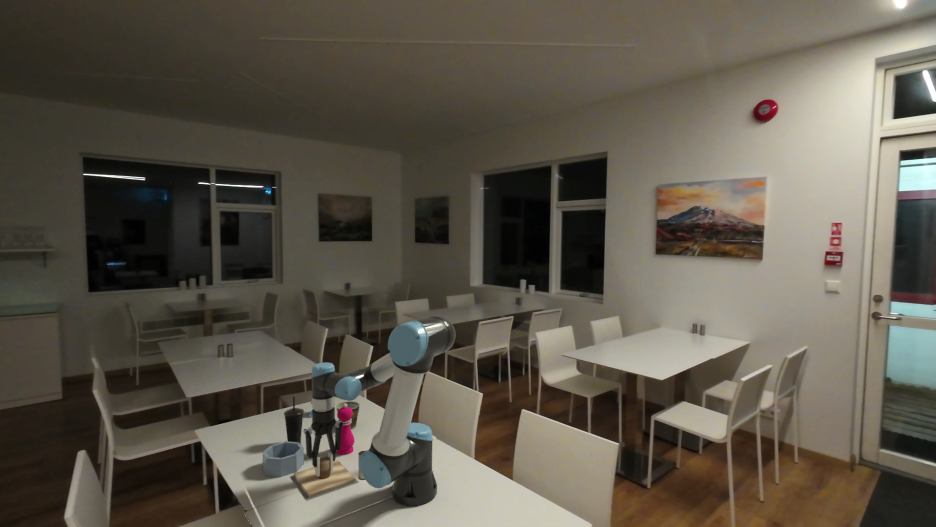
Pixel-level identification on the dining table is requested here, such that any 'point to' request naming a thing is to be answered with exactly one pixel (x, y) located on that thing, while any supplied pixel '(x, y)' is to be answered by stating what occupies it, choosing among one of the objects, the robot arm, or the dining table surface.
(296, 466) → the bowl
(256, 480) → the dining table surface
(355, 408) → the ceramic cup
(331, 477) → the lid
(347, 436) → the pepper mill
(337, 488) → the mat
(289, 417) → the drinking cup
